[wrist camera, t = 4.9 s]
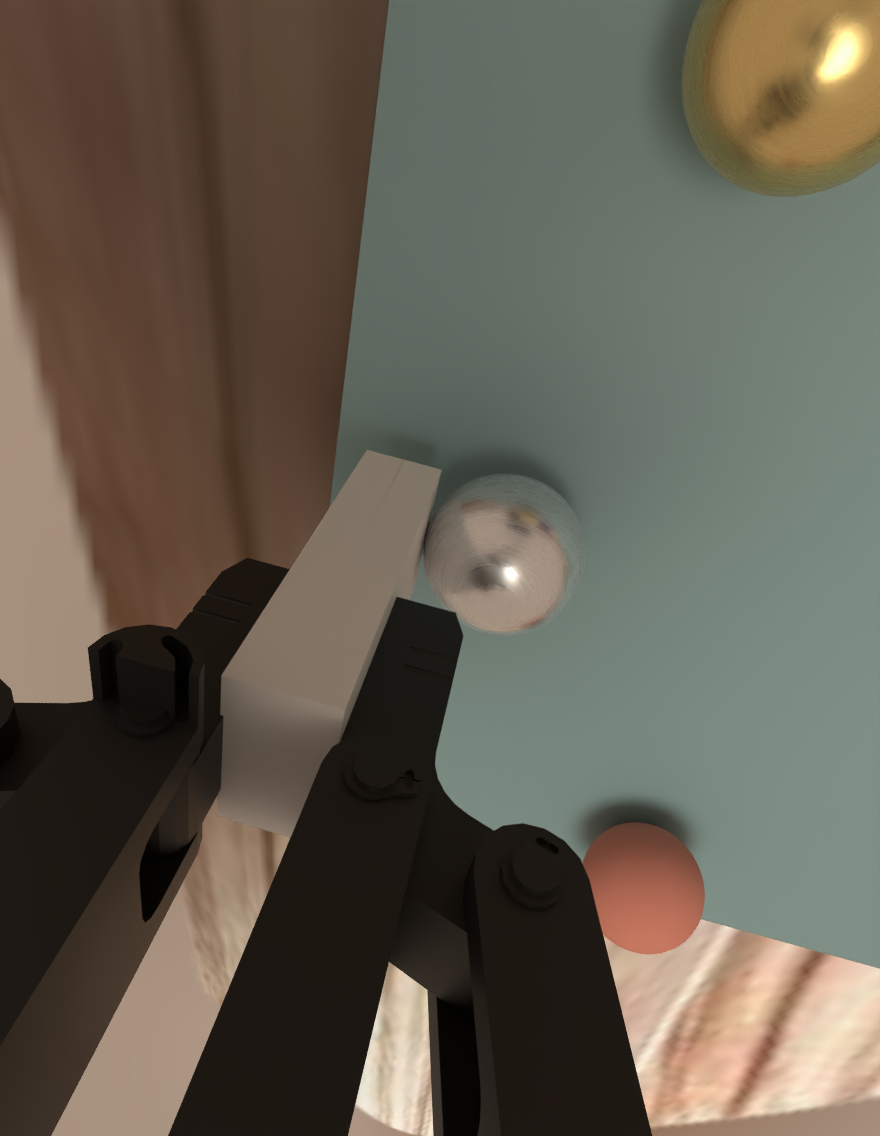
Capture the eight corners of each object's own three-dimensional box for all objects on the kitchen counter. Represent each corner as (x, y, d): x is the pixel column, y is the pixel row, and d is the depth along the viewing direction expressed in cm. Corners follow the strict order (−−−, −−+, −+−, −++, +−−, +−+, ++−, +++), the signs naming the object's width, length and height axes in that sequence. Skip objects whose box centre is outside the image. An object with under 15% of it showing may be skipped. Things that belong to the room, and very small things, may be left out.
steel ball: (454, 430, 14) (424, 502, 12) (607, 469, 14) (611, 551, 12) (426, 557, 16) (395, 644, 14) (561, 592, 16) (556, 687, 13)
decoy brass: (722, -106, 10) (774, -186, 7) (957, -55, 9) (1100, -117, 7) (640, 160, 11) (656, 176, 9) (836, 207, 11) (911, 237, 9)
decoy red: (600, 784, 19) (602, 891, 17) (715, 815, 19) (735, 929, 17) (566, 852, 21) (563, 958, 18) (671, 881, 21) (683, 992, 18)
